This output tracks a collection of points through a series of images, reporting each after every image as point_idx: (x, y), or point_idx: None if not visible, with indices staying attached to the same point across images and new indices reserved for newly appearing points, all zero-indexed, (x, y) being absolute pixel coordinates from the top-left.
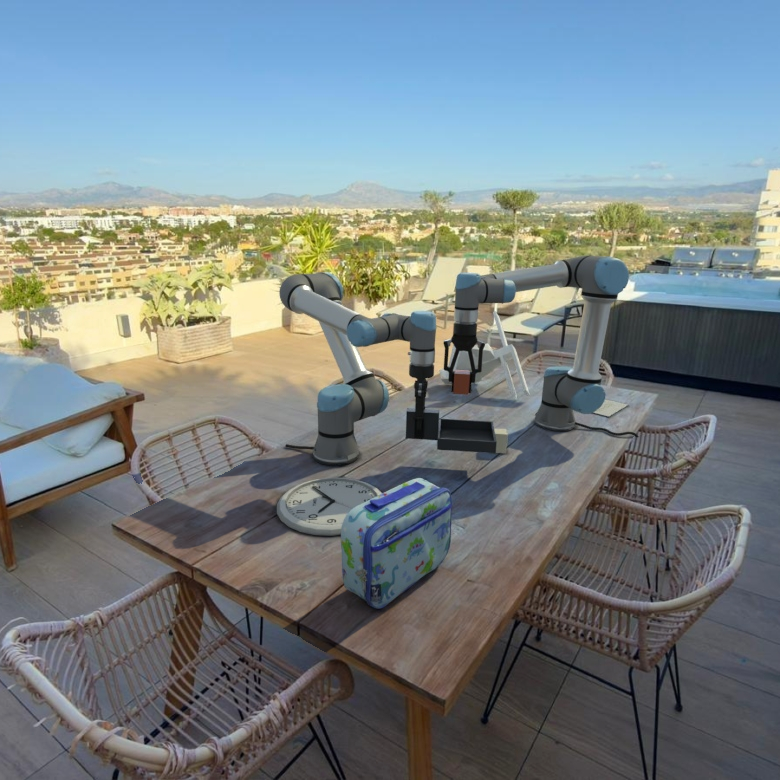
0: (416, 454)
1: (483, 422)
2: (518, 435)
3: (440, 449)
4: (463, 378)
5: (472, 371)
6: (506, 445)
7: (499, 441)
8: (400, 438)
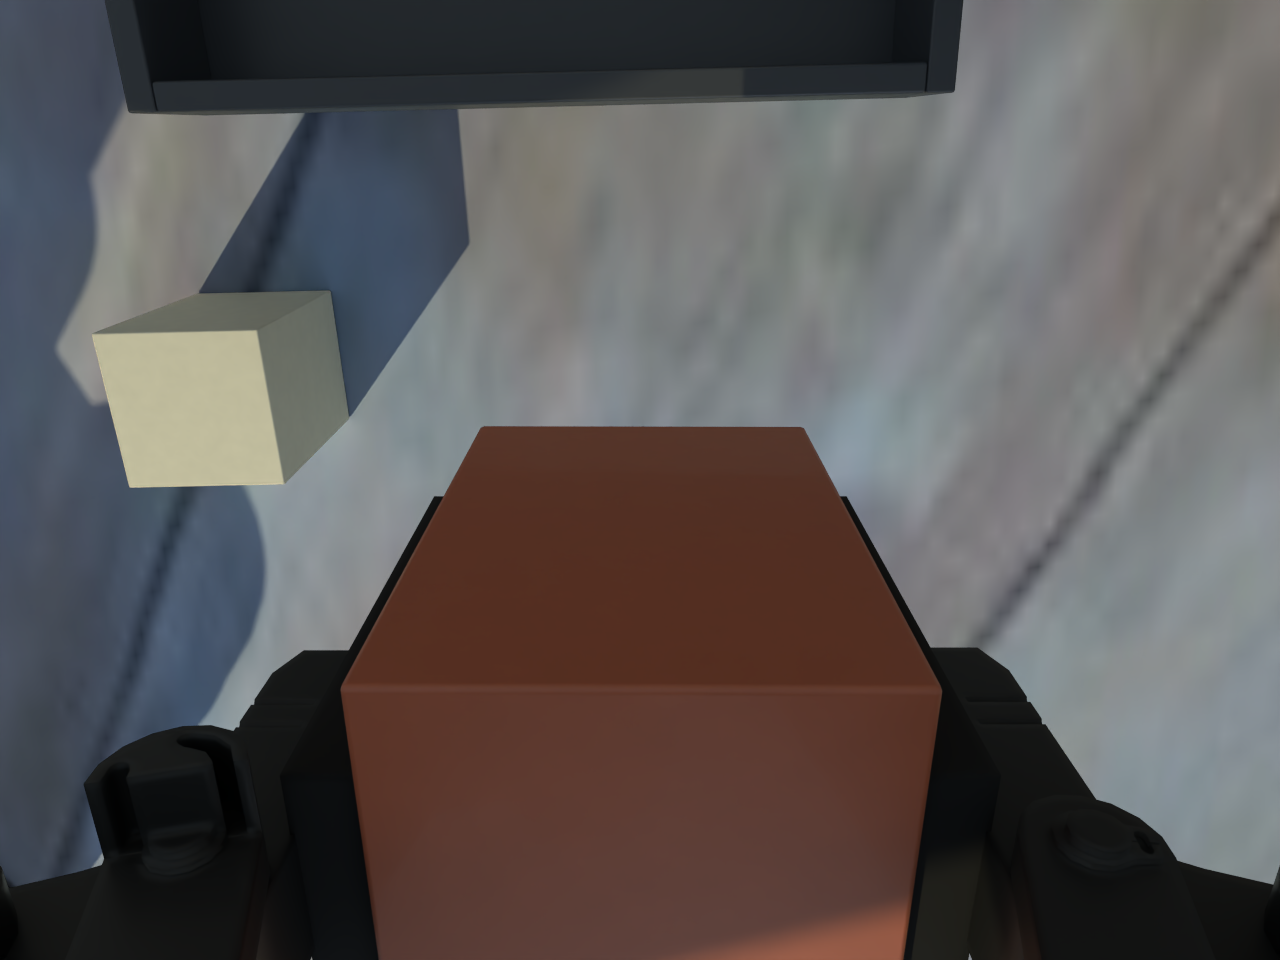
0: (1028, 117)
1: (269, 78)
2: (139, 692)
3: None
4: (588, 596)
5: (230, 870)
6: (160, 309)
7: (215, 312)
8: (1153, 462)
